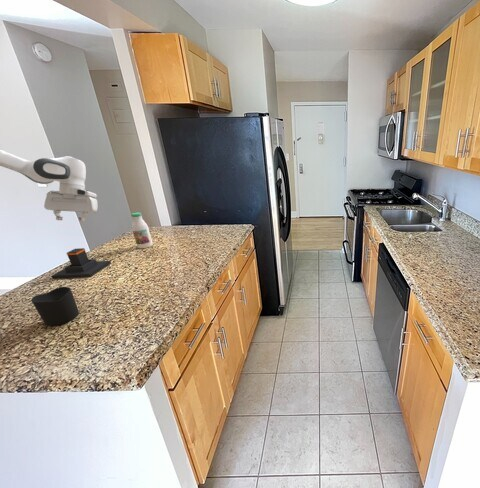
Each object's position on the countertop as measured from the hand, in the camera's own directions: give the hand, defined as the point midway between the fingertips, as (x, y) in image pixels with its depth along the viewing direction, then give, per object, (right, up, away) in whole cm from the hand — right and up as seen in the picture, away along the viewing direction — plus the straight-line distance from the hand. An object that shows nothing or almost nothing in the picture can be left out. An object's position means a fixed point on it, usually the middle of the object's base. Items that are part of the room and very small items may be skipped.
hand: (70, 220), depth 123 cm
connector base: (+6, -24, +1) cm, 24 cm away
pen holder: (+29, -37, -33) cm, 58 cm away
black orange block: (+5, -22, 0) cm, 23 cm away
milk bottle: (+16, -13, +29) cm, 35 cm away
